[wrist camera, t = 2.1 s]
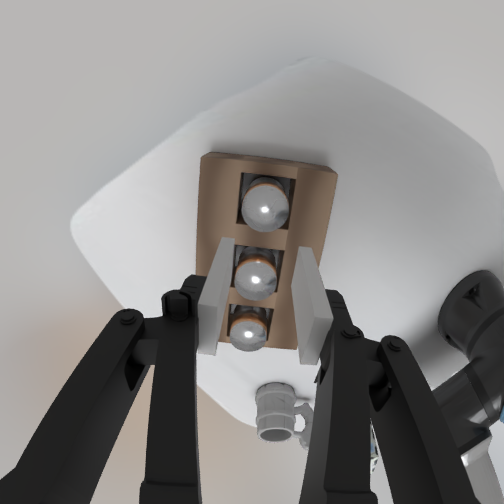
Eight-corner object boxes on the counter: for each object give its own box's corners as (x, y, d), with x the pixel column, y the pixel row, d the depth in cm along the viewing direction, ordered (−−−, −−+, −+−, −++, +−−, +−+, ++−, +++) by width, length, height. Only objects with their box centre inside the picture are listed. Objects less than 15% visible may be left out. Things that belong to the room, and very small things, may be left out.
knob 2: (278, 246, 33) (280, 267, 29) (273, 279, 35) (273, 303, 31) (240, 242, 33) (235, 262, 29) (236, 275, 35) (232, 298, 31)
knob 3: (269, 302, 37) (269, 327, 32) (264, 328, 39) (263, 353, 34) (234, 298, 37) (230, 322, 32) (232, 324, 39) (228, 349, 34)
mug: (263, 377, 48) (262, 433, 37) (321, 389, 49) (328, 441, 38) (250, 399, 51) (246, 450, 40) (303, 409, 52) (307, 457, 42)
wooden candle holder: (328, 166, 32) (338, 174, 27) (294, 326, 42) (296, 349, 38) (210, 152, 32) (200, 156, 27) (202, 316, 42) (196, 338, 38)
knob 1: (288, 179, 30) (292, 190, 25) (282, 218, 32) (285, 235, 27) (247, 174, 30) (243, 184, 25) (242, 213, 32) (239, 229, 27)
